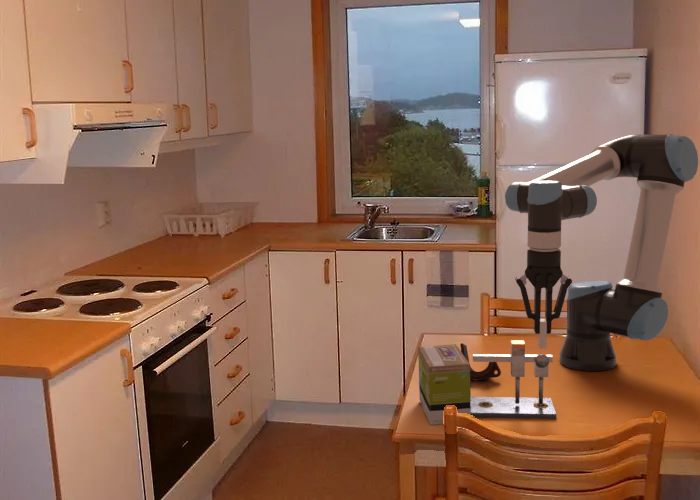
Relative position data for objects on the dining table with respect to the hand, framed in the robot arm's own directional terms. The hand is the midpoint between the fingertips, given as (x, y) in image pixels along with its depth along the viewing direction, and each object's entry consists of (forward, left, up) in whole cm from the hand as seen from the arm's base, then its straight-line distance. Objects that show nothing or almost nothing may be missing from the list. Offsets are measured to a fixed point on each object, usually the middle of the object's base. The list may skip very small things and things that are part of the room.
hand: (542, 346), depth 182 cm
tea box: (+23, +2, -16) cm, 28 cm away
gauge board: (+7, 0, -16) cm, 18 cm away
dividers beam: (+7, 0, -14) cm, 16 cm away
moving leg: (+6, 0, -14) cm, 15 cm away
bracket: (+17, -22, -16) cm, 32 cm away
